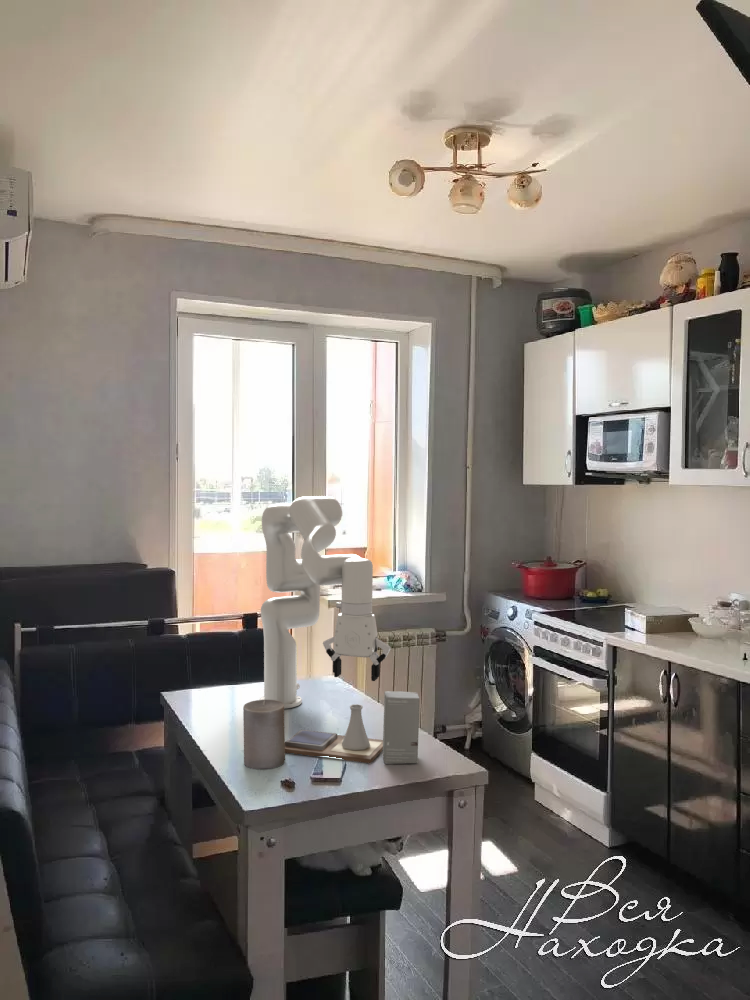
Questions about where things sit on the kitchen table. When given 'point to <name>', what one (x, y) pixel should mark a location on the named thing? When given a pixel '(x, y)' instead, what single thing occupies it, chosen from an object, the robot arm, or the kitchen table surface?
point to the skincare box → (400, 727)
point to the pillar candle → (264, 734)
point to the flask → (356, 731)
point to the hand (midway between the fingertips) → (356, 677)
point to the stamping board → (330, 746)
